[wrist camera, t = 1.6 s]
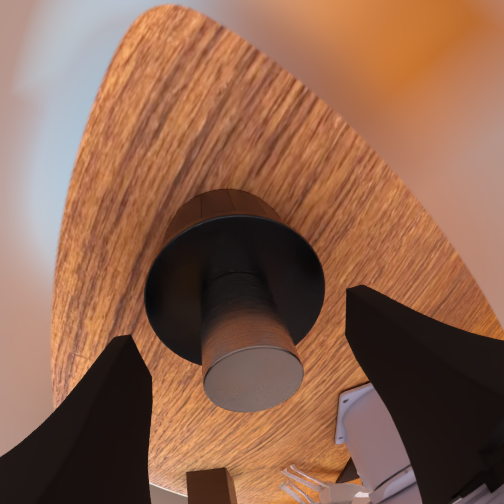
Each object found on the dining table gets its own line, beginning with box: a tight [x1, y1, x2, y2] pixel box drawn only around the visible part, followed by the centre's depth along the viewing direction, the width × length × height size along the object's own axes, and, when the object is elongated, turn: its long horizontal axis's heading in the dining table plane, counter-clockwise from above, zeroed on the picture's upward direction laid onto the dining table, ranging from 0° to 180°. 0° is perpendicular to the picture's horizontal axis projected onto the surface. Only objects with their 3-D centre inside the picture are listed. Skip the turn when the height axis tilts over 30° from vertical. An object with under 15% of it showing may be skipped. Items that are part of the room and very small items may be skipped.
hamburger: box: [336, 458, 360, 484], centre depth 30 cm, size 12×12×6 cm
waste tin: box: [162, 189, 282, 245], centre depth 14 cm, size 6×6×5 cm
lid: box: [144, 211, 325, 412], centre depth 10 cm, size 7×7×5 cm
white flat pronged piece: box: [278, 464, 373, 504], centre depth 29 cm, size 2×11×18 cm
